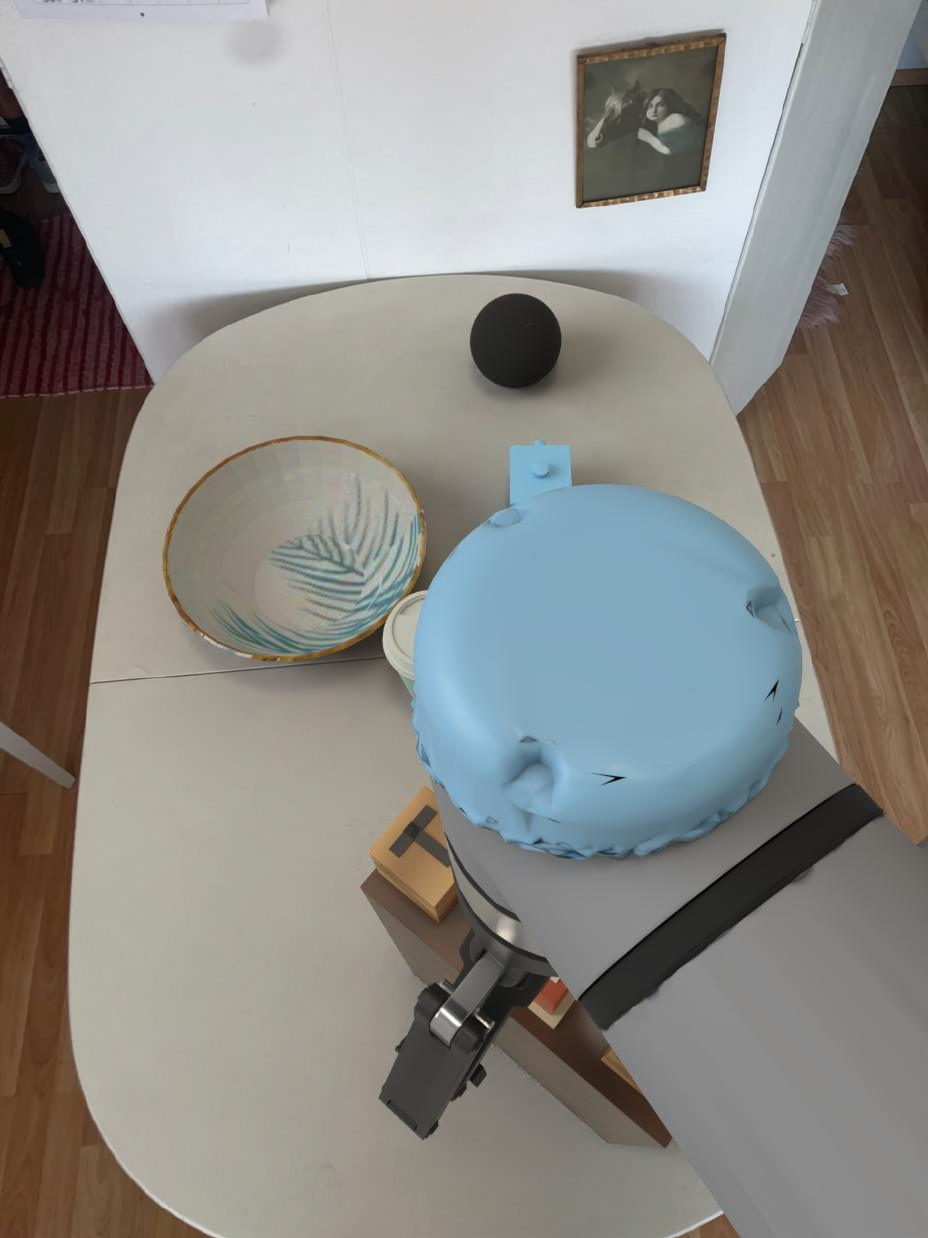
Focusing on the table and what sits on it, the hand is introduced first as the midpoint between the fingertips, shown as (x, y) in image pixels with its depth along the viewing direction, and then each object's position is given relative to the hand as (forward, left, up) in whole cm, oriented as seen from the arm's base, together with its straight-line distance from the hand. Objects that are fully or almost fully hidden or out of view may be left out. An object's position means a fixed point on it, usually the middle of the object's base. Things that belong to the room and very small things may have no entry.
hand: (544, 949), depth 50 cm
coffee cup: (+25, -18, -34) cm, 46 cm away
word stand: (0, 0, -34) cm, 34 cm away
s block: (0, 0, -2) cm, 2 cm away
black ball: (+43, -53, -34) cm, 76 cm away
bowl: (+43, -19, -34) cm, 57 cm away
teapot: (+29, -39, -34) cm, 59 cm away
